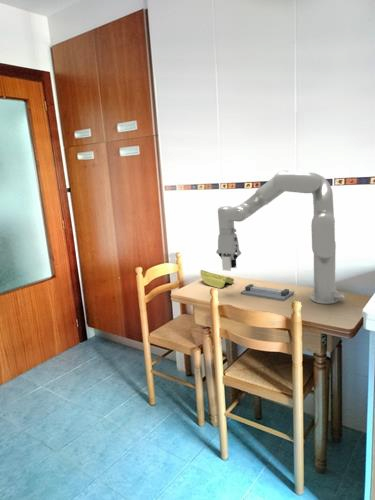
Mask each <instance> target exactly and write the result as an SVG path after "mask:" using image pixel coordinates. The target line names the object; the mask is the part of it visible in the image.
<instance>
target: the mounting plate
mask: <svg viewBox="0 0 375 500" xmlns="http://www.w3.org/2000/svg"><path fill="white" fill-rule="evenodd" d="M264 288H266V287H265V286H264ZM271 289H273V288H272V287H271ZM278 290H280V289H278ZM239 293H240V295H243V296H249V297H256V298H263V299H269V300H275V301H281V302H285V301H286V300H288V299H289V298H291V297H292V296H293V295H295V291H293V290H289V294H288V295H286V296H281V295H276V294H270V293H263V292H256V291H250V290H249V291H246V290H245V289H243V290H241V291H240V292H239Z"/></svg>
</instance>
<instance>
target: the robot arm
mask: <svg viewBox="0 0 375 500" xmlns="http://www.w3.org/2000/svg"><path fill="white" fill-rule="evenodd" d="M285 192H288V193H298V194H299V193H300V194H312V204H313V216H312V219H311V225H310V227H311V250H312V252H313V294H311V296H310V300H311V302H314V303H315V304H322V305H331V304H336V303H338V302H339V300H345V295H344V294H343V293H339V292H338V289H336V248H337V247H336V246H337V245H336V233H335V232H336V231H335V230H336V227H335V225H336V224H335V222H336V221H335V219H336V218H335V215H334V214H335V212H334V211H335V210H334V195H333V194H334V193H333V189H332V186H331V184H330V182H329V181H328V179H326V177H324V176H323V175H320V174H318V173H315V172H308V173H306V172H304V173H303V172H291V171H288V170H281V171H279V172H277V173H276V174H275V175H274V176H273V177H272V178H270V179H269V180H268V181H267V182H265V183H264V184H262V185H261V186H260V187H259V188H258V189H257V190H256V191H255V193H253V195H251V196H250V197H249V198H248V199H246V200H245V201H244V202H242V203H241V204H238V205H236V206H233V207H232V206H230V205H229V206H227V205H226V206H220V207H218V209H217V218H218V219H217V220H218V230H219V234H218V237H217V250H216V252H215V253H216V254H217V255H218V256H219V257H220V259H221V260H222V256H224V255H226V254H231V257H232V260H231V264H232V268H231V269H235V268H234V267H237V259H238V257H239V256H241V255H242V252H241V250H240V246H239V245H240V244H239V240H238V236H237V235H238V234H237V233H236V232H237V229H236V228H235V222H237V223H238V222H244V221H245V220H247V219H248V218H250V217H251V216H252V215H253V214H255V213H256V212H257V211H259V210H260V209H262V208H264V206H268V204H270V203H271V202H272V201H274V200H275V199H277V198H278V197H279V196H281V195H282V194H283V193H285Z"/></svg>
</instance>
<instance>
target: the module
mask: <svg viewBox="0 0 375 500" xmlns="http://www.w3.org/2000/svg"><path fill="white" fill-rule="evenodd" d="M231 260H232V257H231V254H226V255H224V256H222V259H221V264H222V266H221V267H222V270H223V271H228V272H231V270H232V269H237V266H236V267H234V268H232V264H231Z"/></svg>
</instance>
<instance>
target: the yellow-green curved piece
mask: <svg viewBox="0 0 375 500" xmlns="http://www.w3.org/2000/svg"><path fill="white" fill-rule="evenodd" d="M199 273H200V276H201V279H202V281H203V282H204V284H206V285H208V286H211V287H213V288H218V289H223V288H224V287H225V286H226V284H231V285H233V283H234V281H235V279H234V278H233V277H229V276H224V275H220V274H217V273H212V272H211V271H210V272H209V271H206V270H204V269H200V272H199Z"/></svg>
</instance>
